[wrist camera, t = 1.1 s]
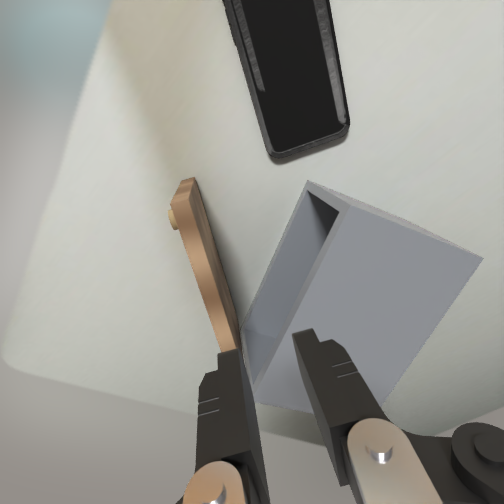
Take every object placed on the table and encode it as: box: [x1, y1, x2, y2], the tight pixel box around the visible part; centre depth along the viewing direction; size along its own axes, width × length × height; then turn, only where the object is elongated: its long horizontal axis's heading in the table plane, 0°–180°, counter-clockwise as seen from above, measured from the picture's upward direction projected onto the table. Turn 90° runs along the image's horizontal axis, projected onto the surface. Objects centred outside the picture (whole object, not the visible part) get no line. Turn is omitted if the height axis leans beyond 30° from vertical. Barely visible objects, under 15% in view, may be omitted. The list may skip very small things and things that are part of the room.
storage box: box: [240, 180, 484, 414], centre depth 29 cm, size 12×18×10 cm, turn 158°
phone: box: [223, 0, 350, 158], centre depth 26 cm, size 8×1×15 cm
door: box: [168, 177, 244, 361], centre depth 27 cm, size 16×2×9 cm, turn 13°
